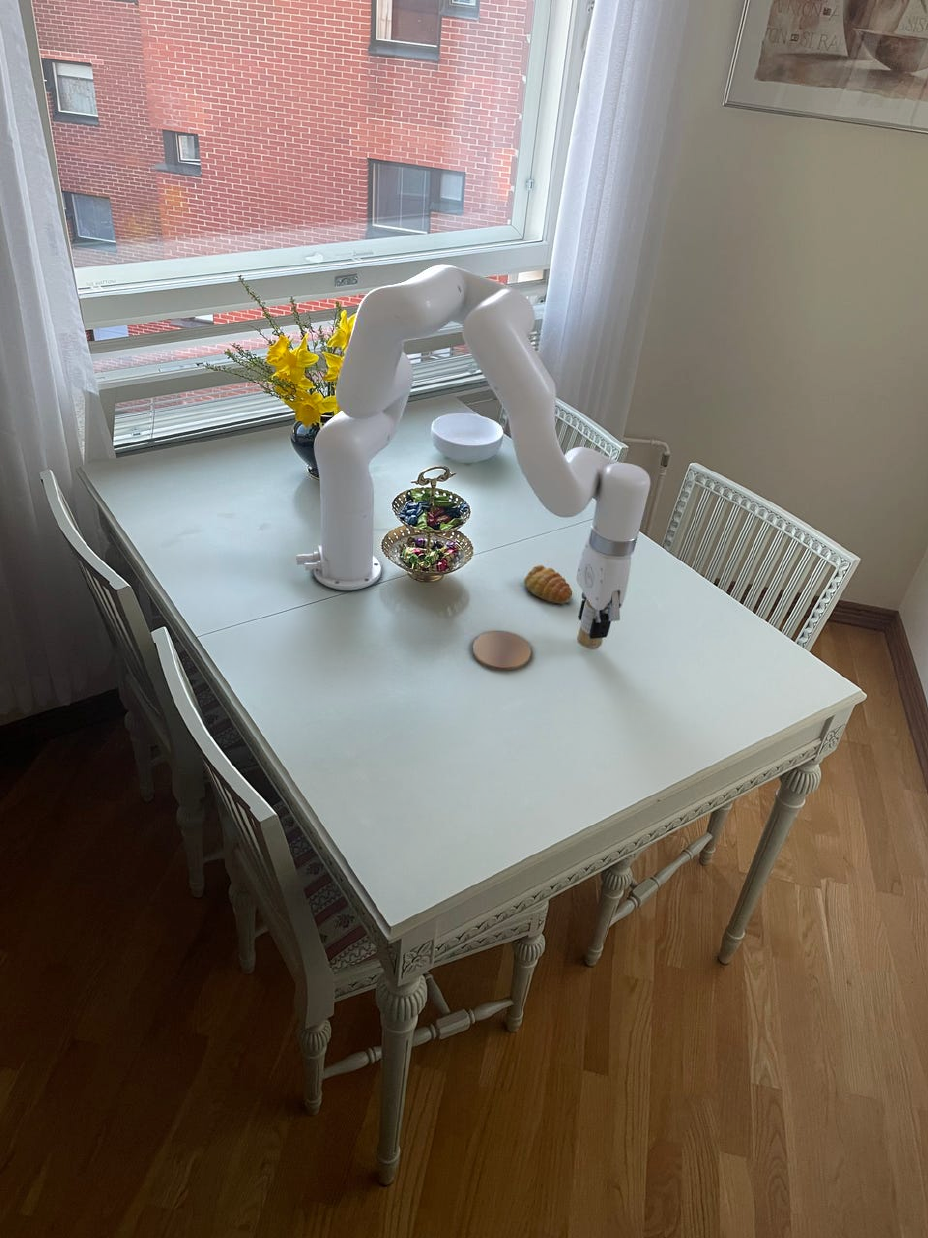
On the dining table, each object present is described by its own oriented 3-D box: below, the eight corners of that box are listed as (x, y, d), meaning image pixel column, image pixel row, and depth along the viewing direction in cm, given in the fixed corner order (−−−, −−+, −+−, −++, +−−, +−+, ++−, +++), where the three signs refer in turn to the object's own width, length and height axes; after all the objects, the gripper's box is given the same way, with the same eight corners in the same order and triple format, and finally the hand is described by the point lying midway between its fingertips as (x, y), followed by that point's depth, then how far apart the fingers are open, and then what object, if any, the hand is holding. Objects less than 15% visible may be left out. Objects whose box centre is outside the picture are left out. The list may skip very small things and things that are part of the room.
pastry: (579, 597, 175) (582, 580, 172) (556, 611, 171) (558, 594, 168) (542, 575, 180) (544, 558, 177) (518, 587, 176) (521, 571, 173)
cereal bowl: (502, 475, 211) (505, 446, 206) (429, 470, 210) (430, 442, 205) (499, 441, 224) (501, 414, 220) (430, 437, 223) (431, 409, 219)
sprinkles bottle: (593, 631, 164) (607, 569, 156) (607, 647, 161) (622, 584, 153) (571, 636, 163) (584, 574, 154) (584, 652, 159) (599, 589, 151)
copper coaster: (482, 673, 155) (482, 670, 154) (466, 636, 162) (466, 634, 162) (538, 666, 157) (538, 663, 157) (520, 630, 165) (520, 628, 165)
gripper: (572, 512, 154) (555, 600, 165) (611, 570, 142) (590, 661, 153) (614, 510, 156) (594, 597, 167) (655, 566, 144) (631, 657, 155)
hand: (592, 627), depth 160 cm, fingers closed on sprinkles bottle, 4 cm apart
